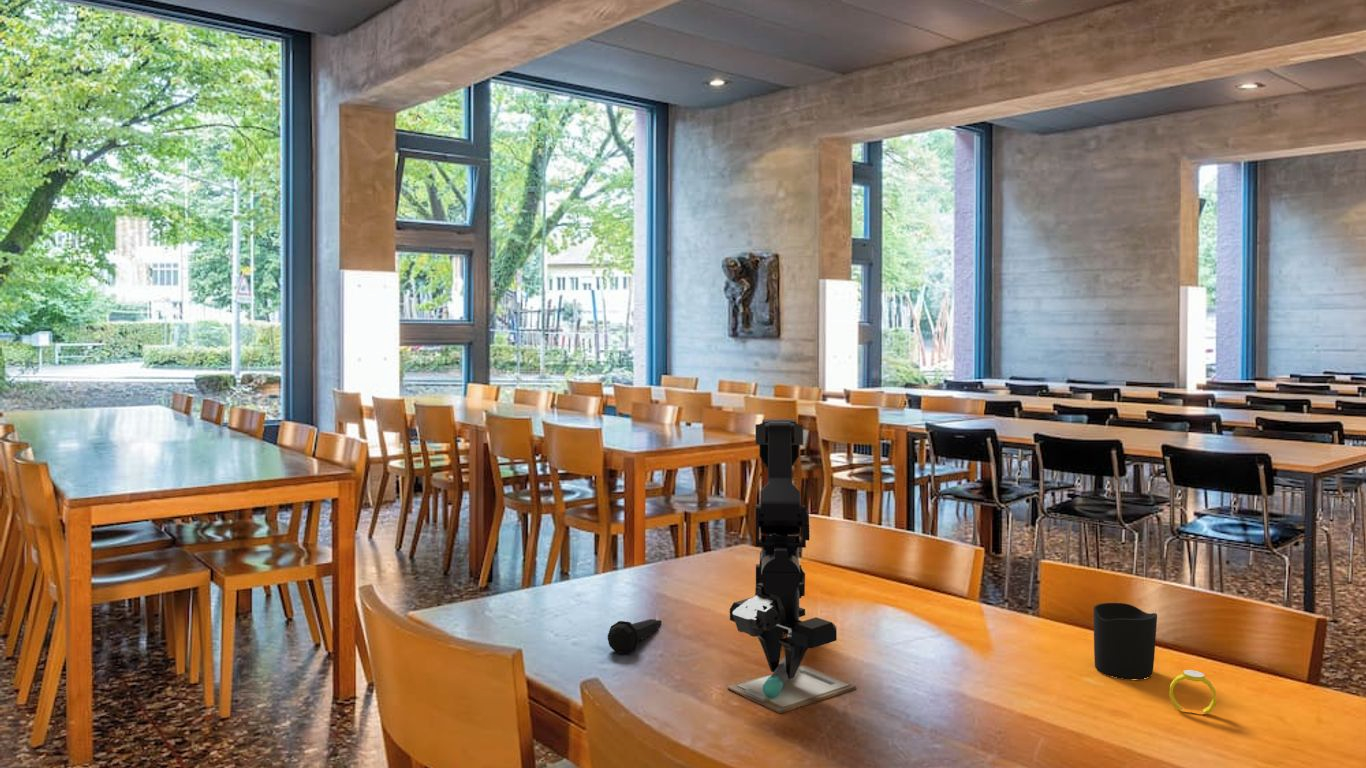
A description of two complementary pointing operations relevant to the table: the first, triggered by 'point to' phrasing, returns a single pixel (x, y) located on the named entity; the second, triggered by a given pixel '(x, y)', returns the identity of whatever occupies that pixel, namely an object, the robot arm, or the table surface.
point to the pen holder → (1124, 640)
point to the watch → (1194, 677)
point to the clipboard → (794, 689)
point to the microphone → (630, 634)
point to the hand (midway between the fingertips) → (782, 674)
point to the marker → (776, 681)
